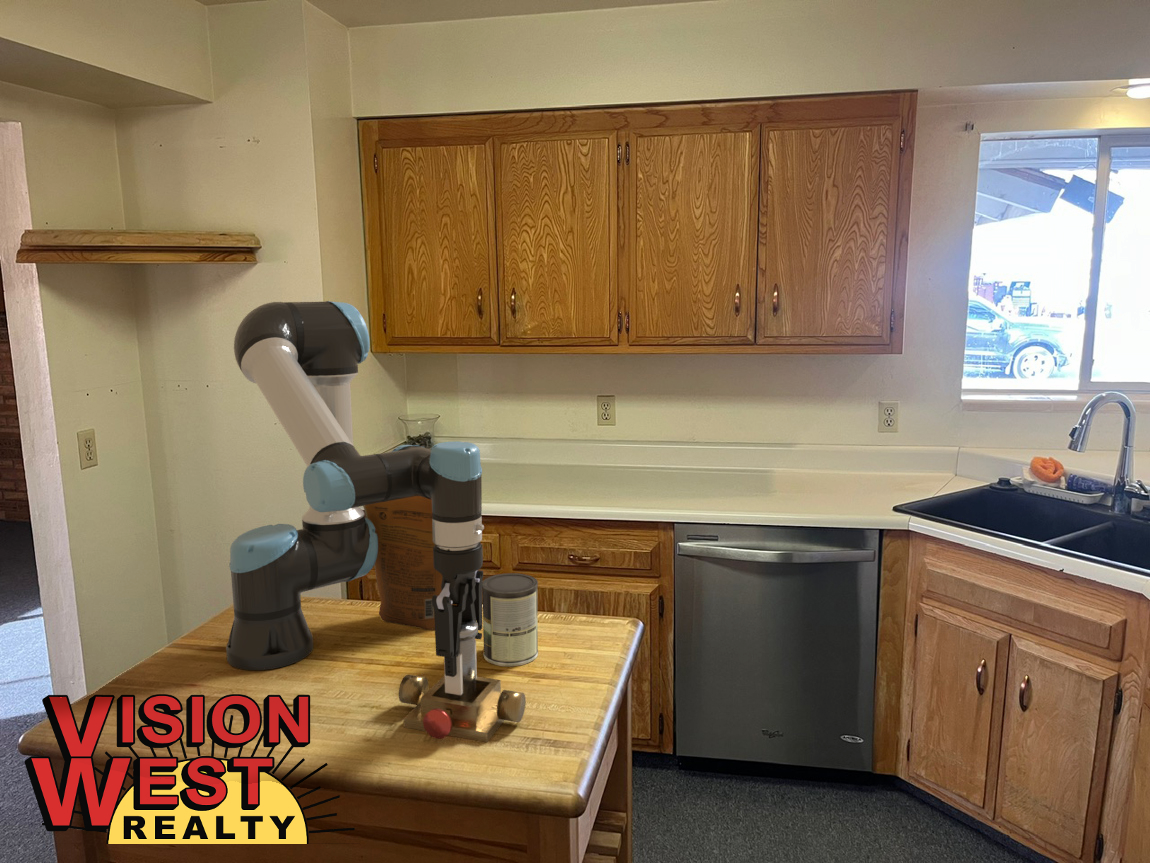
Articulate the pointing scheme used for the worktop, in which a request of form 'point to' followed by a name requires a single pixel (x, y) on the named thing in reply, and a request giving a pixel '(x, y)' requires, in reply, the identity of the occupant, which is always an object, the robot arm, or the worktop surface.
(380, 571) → the pancake mix bag
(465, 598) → the robot arm
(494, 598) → the coffee can
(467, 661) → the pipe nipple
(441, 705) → the valve body
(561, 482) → the worktop surface
